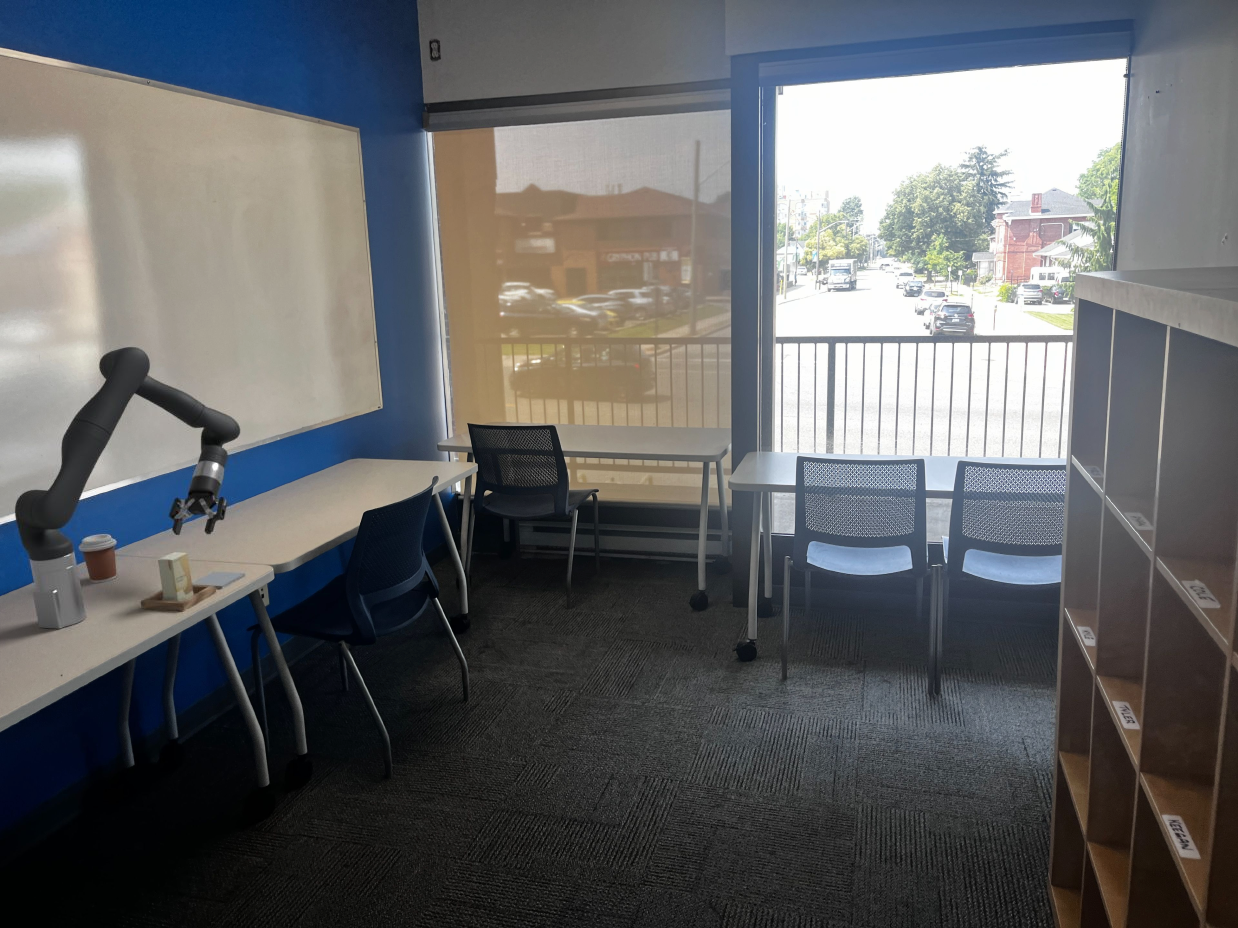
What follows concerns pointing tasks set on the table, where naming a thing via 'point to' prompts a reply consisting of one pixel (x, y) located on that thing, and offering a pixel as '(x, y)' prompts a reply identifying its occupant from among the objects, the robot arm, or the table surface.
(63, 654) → the table surface
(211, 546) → the table surface
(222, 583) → the grey rubber pad
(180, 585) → the skincare box
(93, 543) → the coffee cup
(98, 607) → the table surface
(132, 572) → the table surface
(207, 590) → the frame
